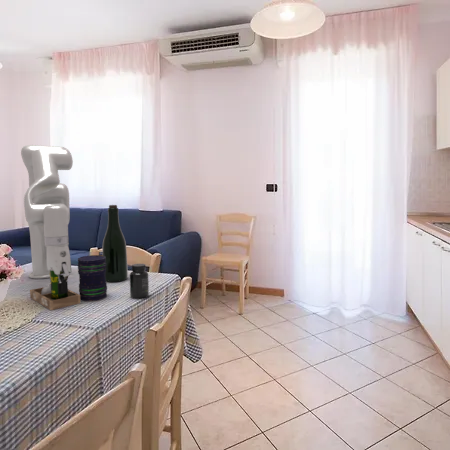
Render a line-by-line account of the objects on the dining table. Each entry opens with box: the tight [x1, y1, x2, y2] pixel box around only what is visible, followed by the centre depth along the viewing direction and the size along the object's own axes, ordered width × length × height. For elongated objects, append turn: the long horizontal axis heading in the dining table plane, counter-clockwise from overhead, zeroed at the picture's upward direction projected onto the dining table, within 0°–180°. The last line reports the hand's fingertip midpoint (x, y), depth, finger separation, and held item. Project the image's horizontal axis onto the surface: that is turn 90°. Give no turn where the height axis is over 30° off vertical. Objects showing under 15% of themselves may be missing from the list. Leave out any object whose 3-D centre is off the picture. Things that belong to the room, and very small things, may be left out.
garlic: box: [41, 283, 51, 295], centre depth 133 cm, size 6×5×5 cm
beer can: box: [49, 267, 68, 300], centre depth 126 cm, size 5×5×12 cm
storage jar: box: [77, 254, 108, 302], centre depth 133 cm, size 10×10×15 cm
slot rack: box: [29, 286, 81, 311], centre depth 130 cm, size 19×10×3 cm, turn 47°
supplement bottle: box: [129, 263, 150, 300], centre depth 135 cm, size 7×7×12 cm
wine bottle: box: [101, 204, 129, 283], centre depth 157 cm, size 10×10×33 cm
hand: (59, 291), depth 127 cm, fingers closed on beer can, 5 cm apart
